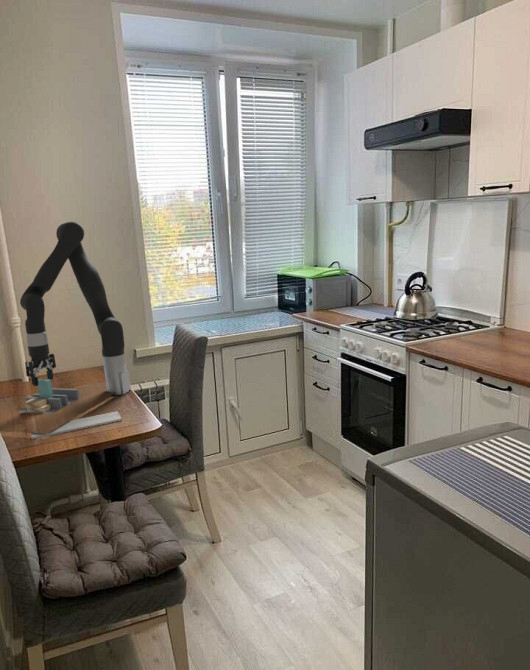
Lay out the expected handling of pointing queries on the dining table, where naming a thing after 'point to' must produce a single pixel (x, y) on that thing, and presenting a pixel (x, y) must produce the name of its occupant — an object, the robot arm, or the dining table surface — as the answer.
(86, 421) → the baseboard molding
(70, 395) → the rack
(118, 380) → the robot arm
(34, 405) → the offcut top
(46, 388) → the teal slat
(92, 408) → the dining table surface
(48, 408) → the block
